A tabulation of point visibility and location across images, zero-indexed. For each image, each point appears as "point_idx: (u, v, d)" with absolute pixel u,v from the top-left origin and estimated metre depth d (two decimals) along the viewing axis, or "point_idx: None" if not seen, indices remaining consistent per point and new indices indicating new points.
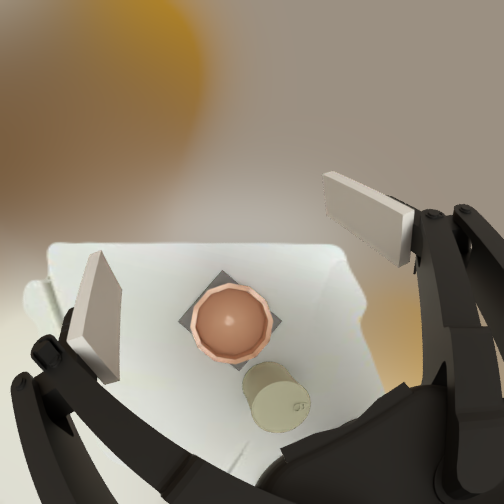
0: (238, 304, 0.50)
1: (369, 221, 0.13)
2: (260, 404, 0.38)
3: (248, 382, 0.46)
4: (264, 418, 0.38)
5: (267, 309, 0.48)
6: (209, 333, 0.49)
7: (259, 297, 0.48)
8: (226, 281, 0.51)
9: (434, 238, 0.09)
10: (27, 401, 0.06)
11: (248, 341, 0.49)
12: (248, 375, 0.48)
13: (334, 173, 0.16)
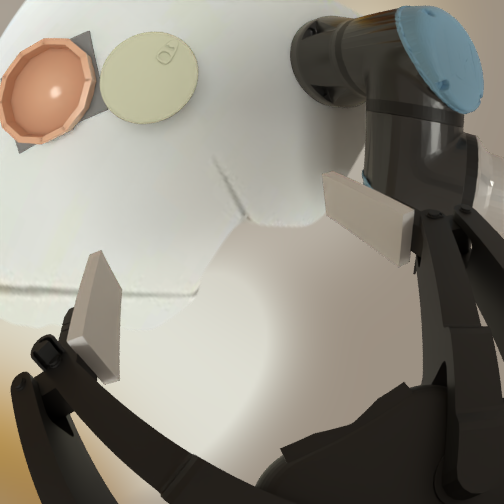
0: (36, 73, 0.23)
1: (369, 221, 0.13)
2: (119, 100, 0.21)
3: None
4: (145, 108, 0.22)
5: (52, 40, 0.20)
6: (44, 121, 0.26)
7: (35, 45, 0.19)
8: None
9: (434, 238, 0.09)
10: (27, 401, 0.06)
11: (79, 79, 0.26)
12: None
13: (334, 173, 0.16)
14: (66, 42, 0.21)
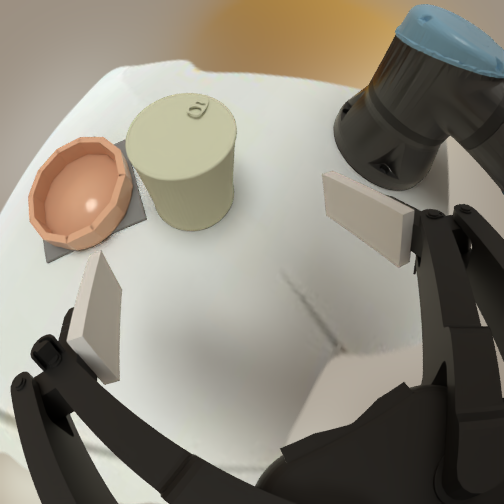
0: (71, 178, 0.30)
1: (369, 221, 0.13)
2: (147, 157, 0.20)
3: (153, 200, 0.28)
4: (177, 163, 0.20)
5: (88, 139, 0.29)
6: (75, 228, 0.29)
7: (72, 143, 0.29)
8: None
9: (434, 238, 0.09)
10: (27, 401, 0.06)
11: (115, 184, 0.31)
12: None
13: (334, 173, 0.16)
14: (101, 140, 0.29)
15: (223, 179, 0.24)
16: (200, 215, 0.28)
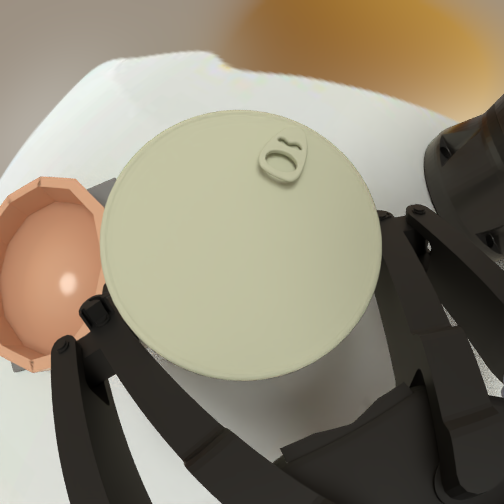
0: (33, 242, 0.18)
1: None
2: (162, 303, 0.08)
3: None
4: (249, 329, 0.08)
5: (52, 181, 0.16)
6: (45, 332, 0.16)
7: (28, 186, 0.16)
8: None
9: (385, 241, 0.10)
10: (67, 365, 0.07)
11: (99, 263, 0.18)
12: None
13: None
14: (72, 185, 0.17)
15: None
16: None
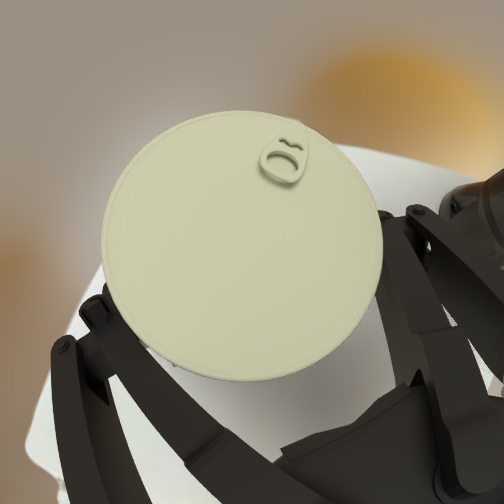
0: None
1: None
2: (163, 304, 0.08)
3: None
4: (251, 330, 0.08)
5: None
6: None
7: None
8: None
9: (385, 241, 0.10)
10: (67, 365, 0.07)
11: None
12: None
13: None
14: None
15: None
16: None
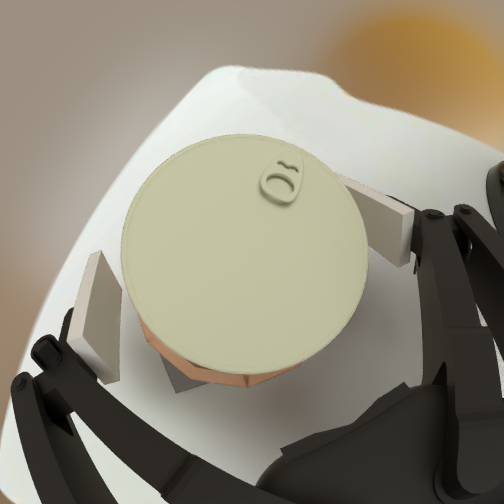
0: None
1: (369, 221, 0.13)
2: (178, 308, 0.09)
3: None
4: (253, 330, 0.09)
5: None
6: None
7: None
8: None
9: (434, 238, 0.09)
10: (27, 401, 0.06)
11: None
12: None
13: None
14: None
15: None
16: None
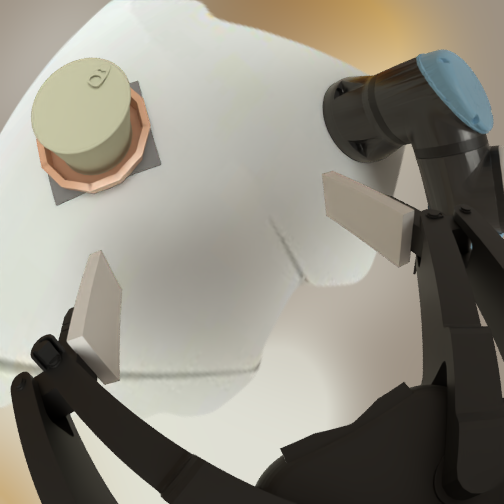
0: None
1: (369, 221, 0.13)
2: (48, 130, 0.17)
3: None
4: (74, 136, 0.18)
5: None
6: None
7: None
8: None
9: (434, 238, 0.09)
10: (27, 401, 0.06)
11: None
12: None
13: (334, 173, 0.16)
14: None
15: (116, 141, 0.23)
16: (97, 166, 0.26)
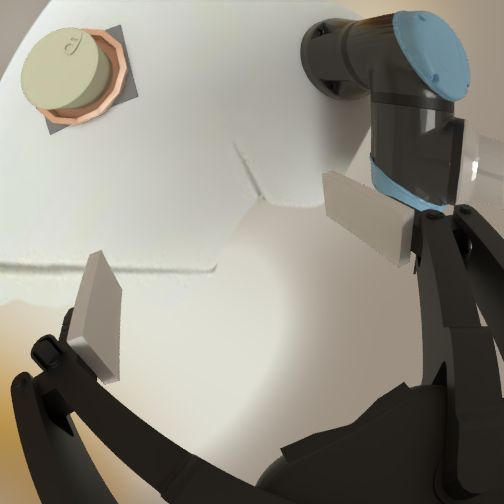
0: None
1: (369, 221, 0.13)
2: (35, 91, 0.19)
3: None
4: (55, 95, 0.20)
5: (88, 31, 0.23)
6: None
7: None
8: None
9: (434, 238, 0.09)
10: (27, 401, 0.06)
11: None
12: None
13: (334, 173, 0.16)
14: (102, 33, 0.24)
15: (92, 90, 0.24)
16: (80, 105, 0.28)
